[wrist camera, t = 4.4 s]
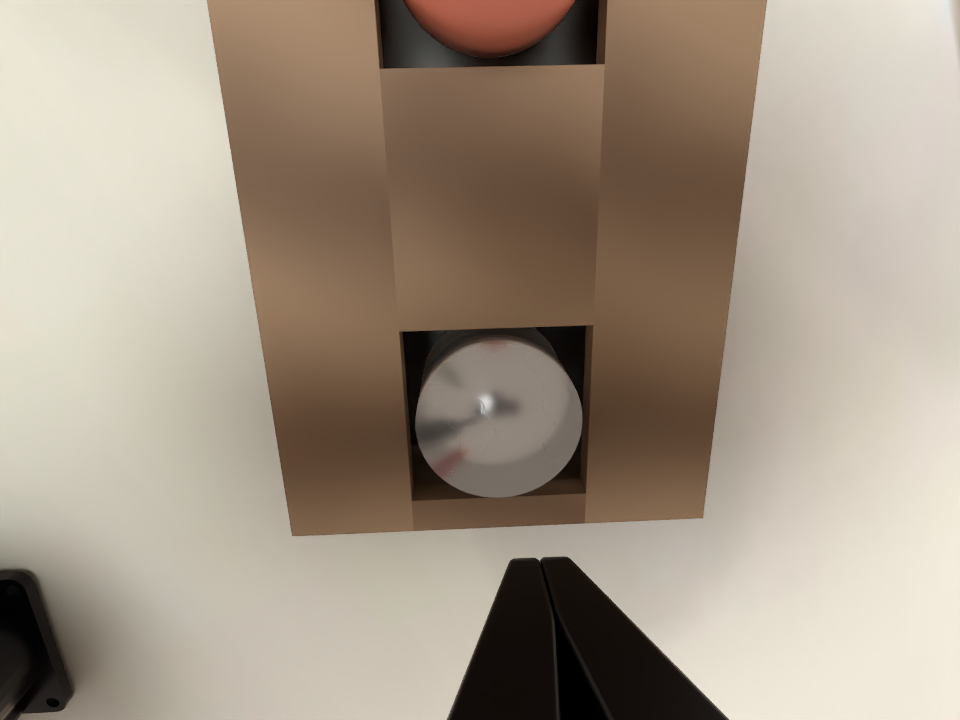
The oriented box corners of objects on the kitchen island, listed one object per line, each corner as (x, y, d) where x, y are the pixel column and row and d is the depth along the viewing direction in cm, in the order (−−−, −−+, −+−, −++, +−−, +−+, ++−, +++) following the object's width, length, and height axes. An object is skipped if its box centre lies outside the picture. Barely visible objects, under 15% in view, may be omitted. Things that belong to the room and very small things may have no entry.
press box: (655, 453, 20) (702, 518, 16) (324, 466, 19) (292, 536, 16) (710, -167, 14) (802, -295, 10) (242, -164, 14) (159, -295, 10)
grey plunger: (559, 441, 18) (579, 494, 15) (426, 446, 18) (420, 500, 15) (562, 312, 17) (585, 342, 14) (418, 317, 17) (410, 347, 13)
